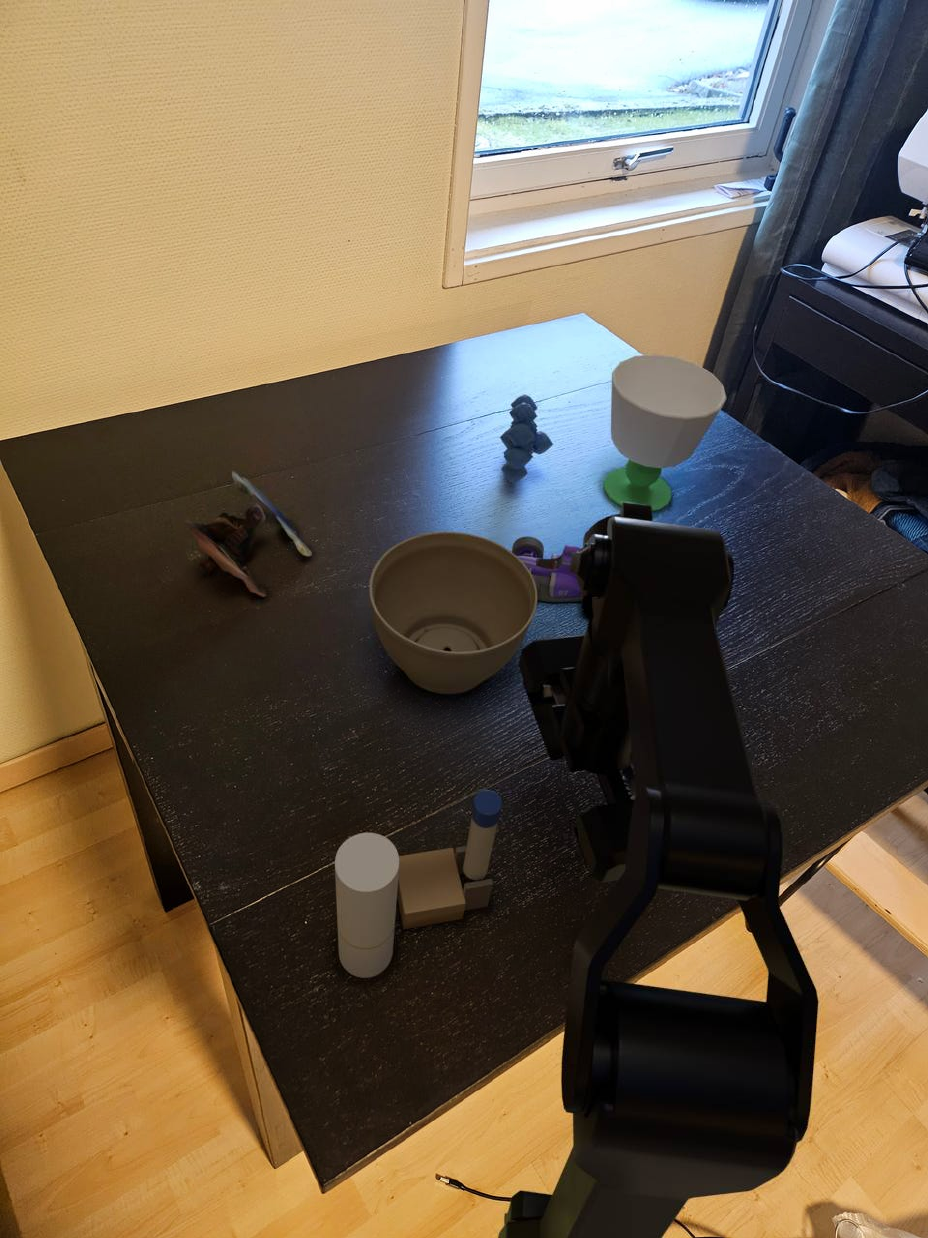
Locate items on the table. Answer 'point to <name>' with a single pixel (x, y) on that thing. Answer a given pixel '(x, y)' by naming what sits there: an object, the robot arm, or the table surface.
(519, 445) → the grapes
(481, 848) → the marker
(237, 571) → the figurine
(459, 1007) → the table surface
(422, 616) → the planter bowl
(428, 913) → the tan block with prongs
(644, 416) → the cup
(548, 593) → the toy race car
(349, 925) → the tube
